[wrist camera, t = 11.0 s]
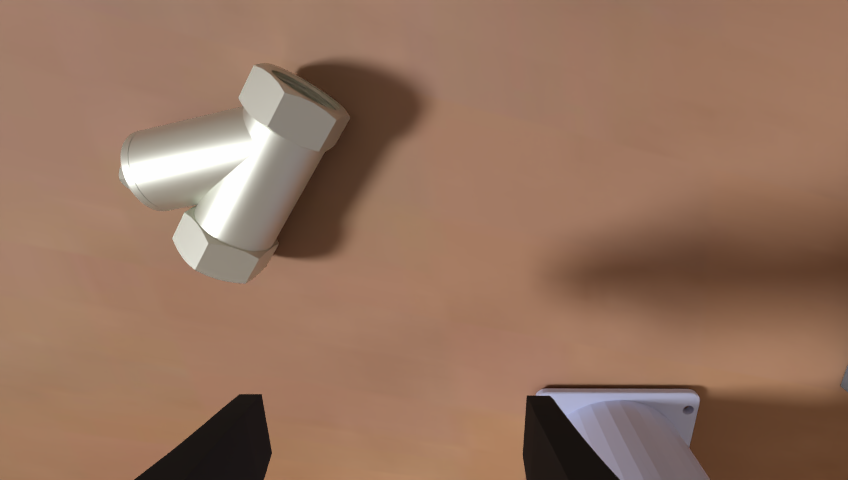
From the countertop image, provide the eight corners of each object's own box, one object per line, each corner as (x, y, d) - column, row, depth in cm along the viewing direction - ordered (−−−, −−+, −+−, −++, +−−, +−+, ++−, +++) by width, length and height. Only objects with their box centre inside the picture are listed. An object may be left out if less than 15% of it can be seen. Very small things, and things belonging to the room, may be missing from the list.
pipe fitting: (146, 181, 20) (273, 261, 21) (75, 200, 17) (231, 296, 17) (216, 18, 18) (358, 113, 19) (150, -2, 14) (330, 117, 15)
